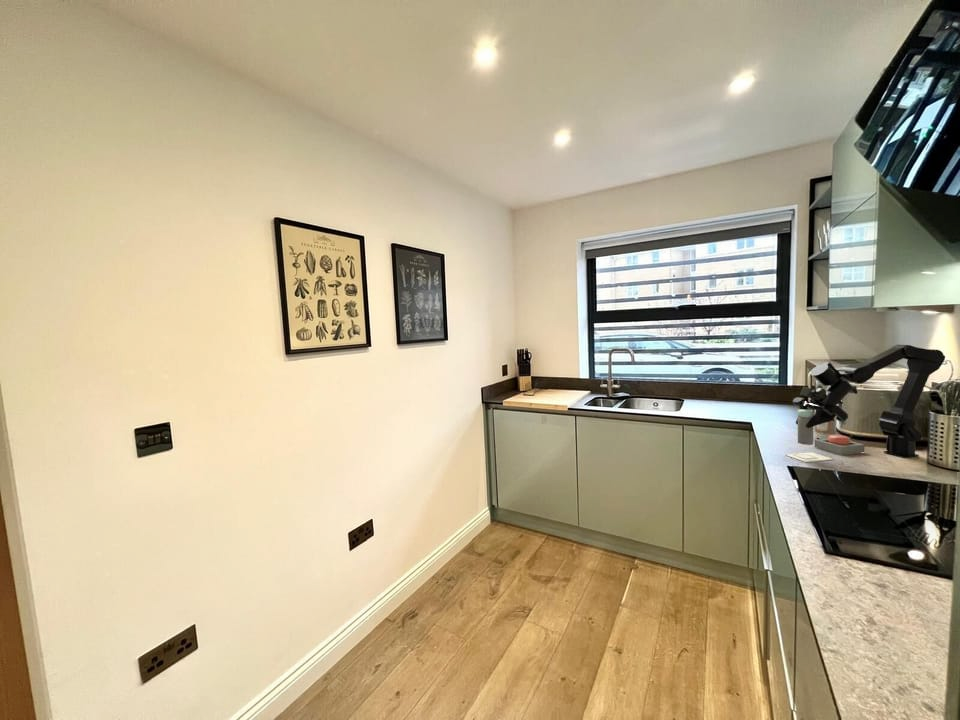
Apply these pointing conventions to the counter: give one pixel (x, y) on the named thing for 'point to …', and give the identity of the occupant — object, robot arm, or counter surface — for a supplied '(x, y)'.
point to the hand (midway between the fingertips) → (801, 425)
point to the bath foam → (825, 429)
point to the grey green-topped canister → (803, 432)
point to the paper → (809, 457)
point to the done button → (839, 440)
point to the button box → (839, 447)
